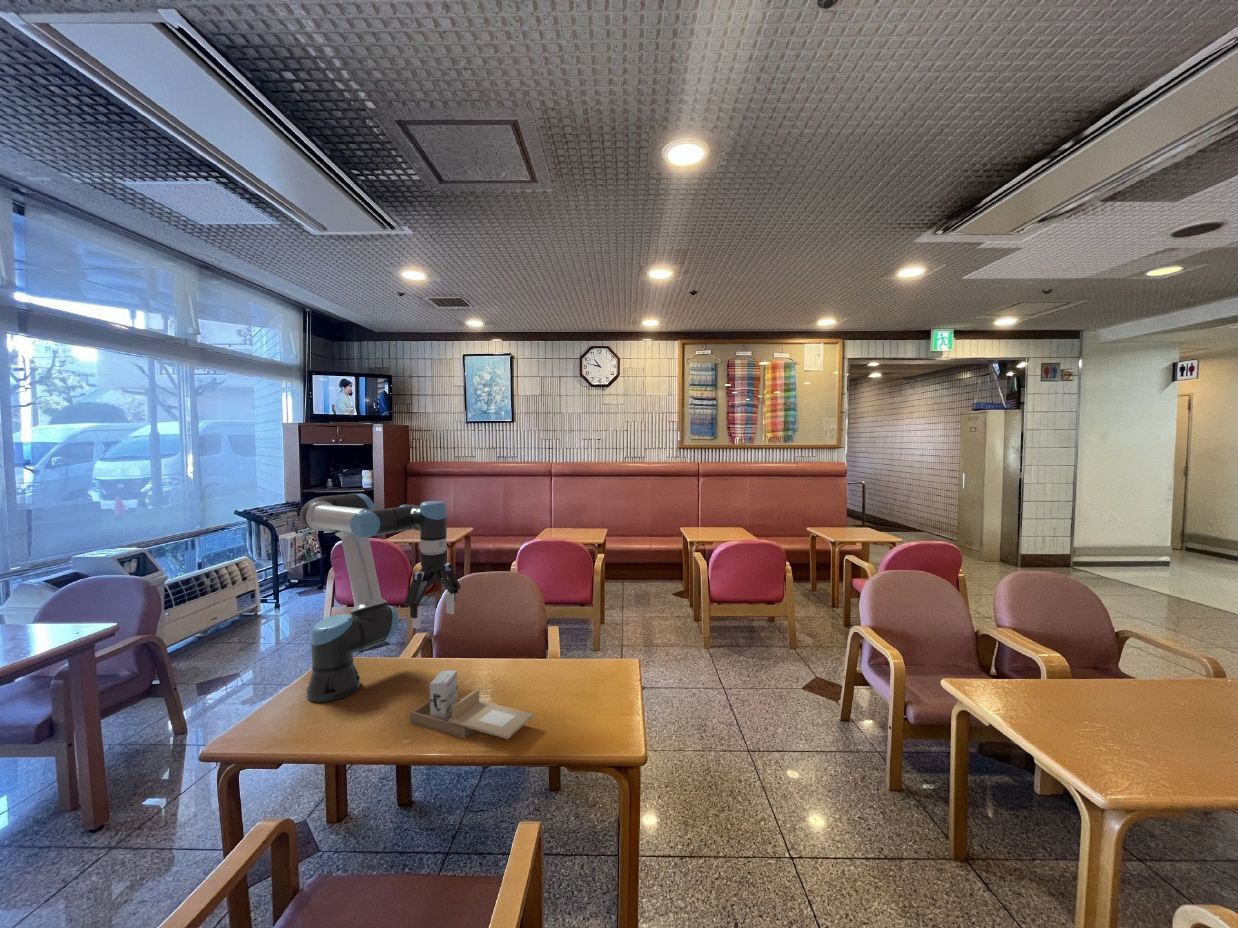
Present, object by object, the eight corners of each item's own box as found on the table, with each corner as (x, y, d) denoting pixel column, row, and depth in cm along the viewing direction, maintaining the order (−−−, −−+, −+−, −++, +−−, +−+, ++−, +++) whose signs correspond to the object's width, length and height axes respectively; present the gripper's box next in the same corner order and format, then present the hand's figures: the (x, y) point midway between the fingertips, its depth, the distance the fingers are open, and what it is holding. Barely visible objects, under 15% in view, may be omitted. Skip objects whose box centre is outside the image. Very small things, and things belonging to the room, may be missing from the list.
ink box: (443, 707, 148) (442, 669, 148) (458, 708, 148) (457, 669, 148) (429, 723, 140) (428, 682, 139) (446, 724, 139) (445, 683, 139)
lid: (448, 722, 136) (447, 707, 136) (477, 701, 147) (477, 687, 147) (507, 738, 128) (507, 723, 127) (534, 715, 139) (533, 700, 138)
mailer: (410, 722, 142) (410, 712, 142) (441, 702, 153) (441, 693, 153) (464, 738, 134) (464, 727, 133) (493, 716, 144) (493, 706, 144)
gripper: (409, 562, 138) (409, 636, 139) (471, 545, 160) (471, 609, 162) (390, 559, 141) (391, 632, 142) (454, 543, 164) (454, 606, 165)
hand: (433, 620), depth 152 cm, fingers open, 13 cm apart
